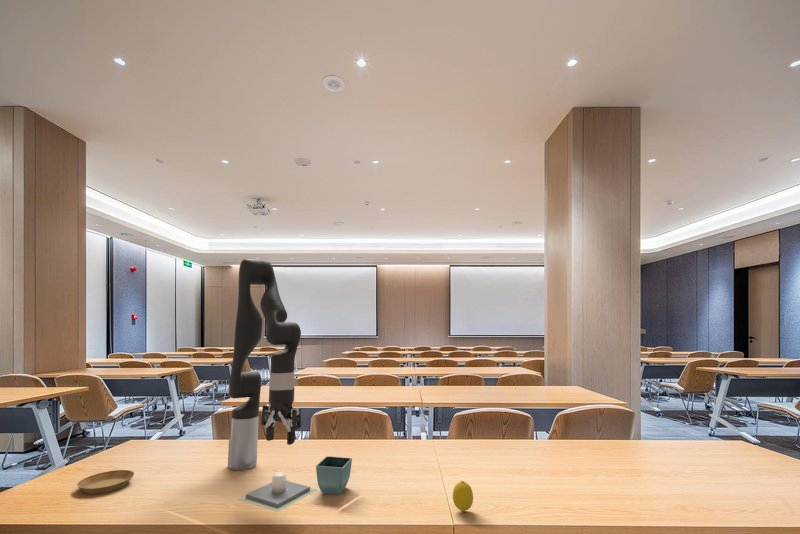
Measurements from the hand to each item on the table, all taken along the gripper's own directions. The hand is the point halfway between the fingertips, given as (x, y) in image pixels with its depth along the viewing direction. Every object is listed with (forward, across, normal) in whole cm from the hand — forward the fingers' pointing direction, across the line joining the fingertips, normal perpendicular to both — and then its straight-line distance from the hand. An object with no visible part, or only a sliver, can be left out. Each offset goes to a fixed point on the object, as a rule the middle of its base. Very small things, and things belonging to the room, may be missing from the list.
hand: (280, 442), depth 121 cm
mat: (+15, 0, 0) cm, 15 cm away
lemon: (+16, +52, +17) cm, 57 cm away
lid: (+15, 0, 0) cm, 15 cm away
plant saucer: (+16, -54, -21) cm, 60 cm away
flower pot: (+16, +13, +10) cm, 23 cm away
